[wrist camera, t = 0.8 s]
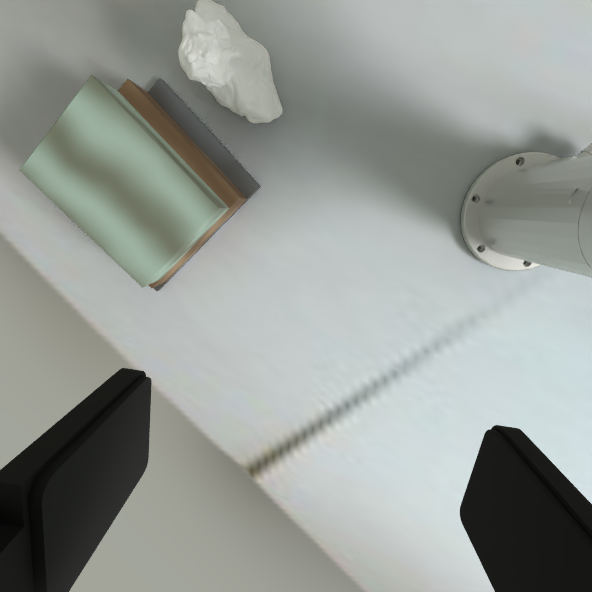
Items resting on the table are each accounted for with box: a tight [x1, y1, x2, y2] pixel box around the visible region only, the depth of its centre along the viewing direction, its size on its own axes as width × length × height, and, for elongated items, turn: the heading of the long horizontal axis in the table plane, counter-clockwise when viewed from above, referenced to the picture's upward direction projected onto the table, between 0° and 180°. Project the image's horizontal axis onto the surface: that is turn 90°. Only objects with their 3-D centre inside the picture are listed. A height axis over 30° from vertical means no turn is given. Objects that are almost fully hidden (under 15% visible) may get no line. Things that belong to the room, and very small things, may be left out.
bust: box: [178, 0, 283, 123], centre depth 32 cm, size 12×8×11 cm
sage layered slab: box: [20, 75, 261, 291], centre depth 35 cm, size 18×15×9 cm
